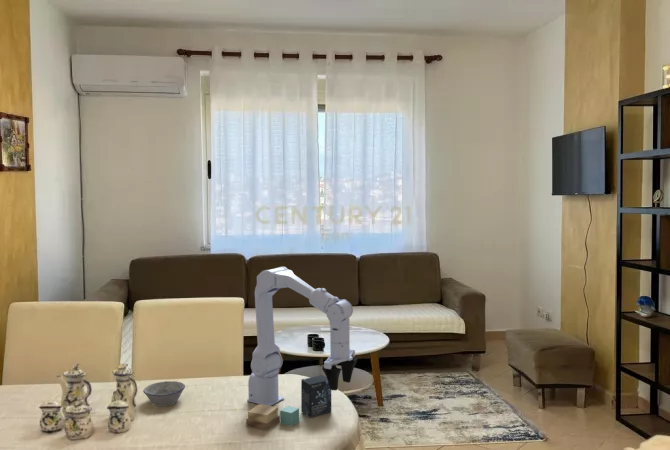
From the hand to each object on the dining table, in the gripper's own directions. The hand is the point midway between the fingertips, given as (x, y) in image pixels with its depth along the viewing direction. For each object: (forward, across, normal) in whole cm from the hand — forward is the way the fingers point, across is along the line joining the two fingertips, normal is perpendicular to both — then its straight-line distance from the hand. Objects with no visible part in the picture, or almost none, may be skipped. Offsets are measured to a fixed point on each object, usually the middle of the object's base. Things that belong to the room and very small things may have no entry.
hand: (340, 385), depth 173 cm
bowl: (+10, -18, +56) cm, 60 cm away
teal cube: (+10, -10, +12) cm, 18 cm away
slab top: (+8, -15, +17) cm, 25 cm away
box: (+10, 0, +9) cm, 13 cm away
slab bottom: (+11, -15, +17) cm, 25 cm away
